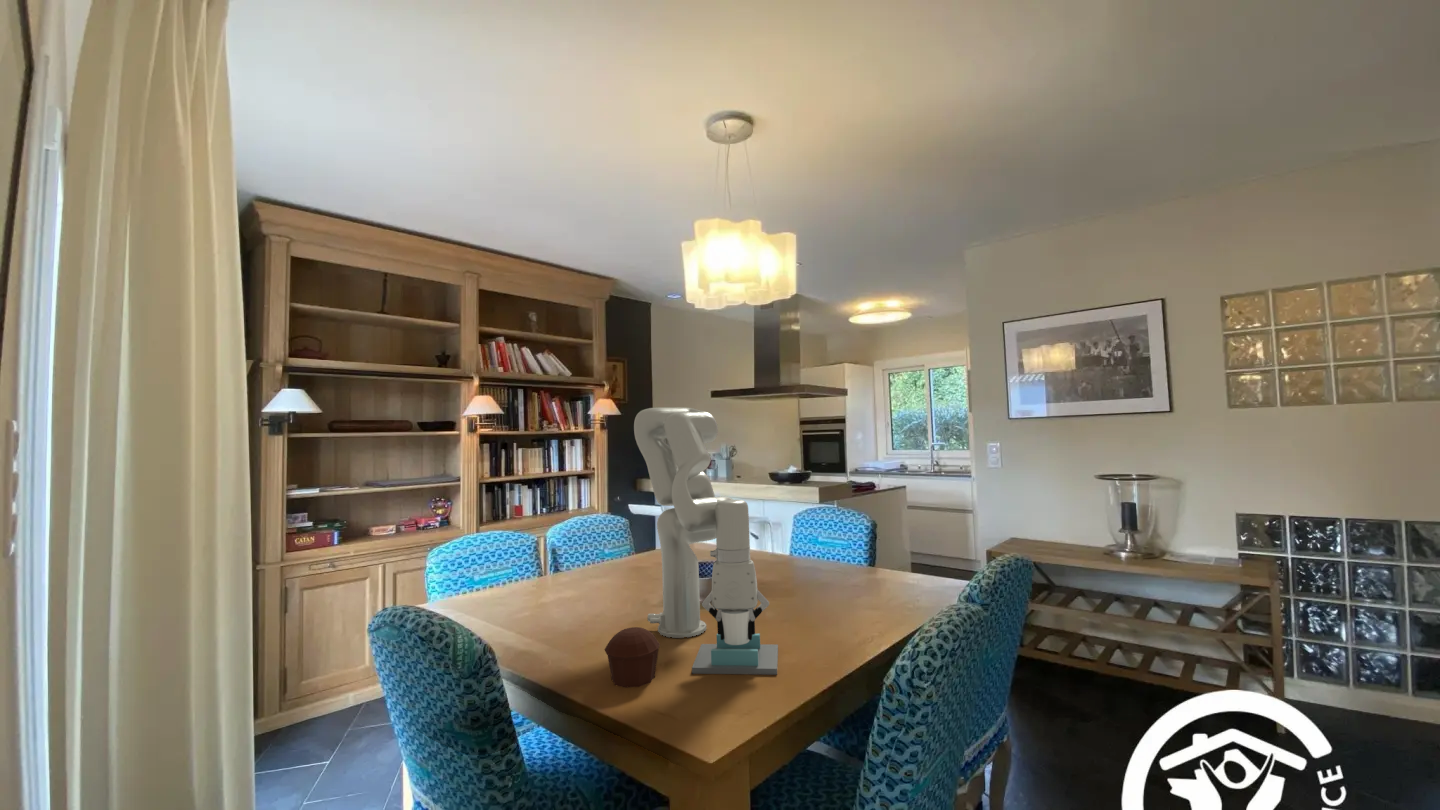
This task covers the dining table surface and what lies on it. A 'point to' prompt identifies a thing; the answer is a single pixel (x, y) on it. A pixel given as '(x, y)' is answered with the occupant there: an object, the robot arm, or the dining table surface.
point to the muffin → (632, 657)
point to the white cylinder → (735, 626)
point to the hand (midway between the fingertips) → (736, 636)
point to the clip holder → (736, 658)
